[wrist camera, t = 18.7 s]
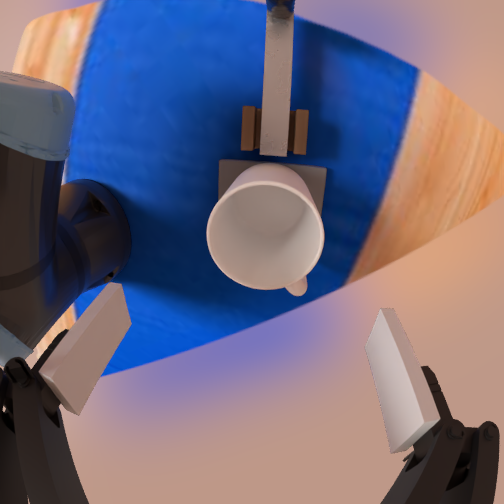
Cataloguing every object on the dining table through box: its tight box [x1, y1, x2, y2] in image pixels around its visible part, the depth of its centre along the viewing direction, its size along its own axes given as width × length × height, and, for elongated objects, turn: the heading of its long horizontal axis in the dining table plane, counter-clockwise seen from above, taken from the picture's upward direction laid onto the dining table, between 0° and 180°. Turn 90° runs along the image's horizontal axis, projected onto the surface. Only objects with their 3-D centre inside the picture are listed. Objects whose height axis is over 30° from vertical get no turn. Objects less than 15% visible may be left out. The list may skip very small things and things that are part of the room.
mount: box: [241, 106, 309, 155], centre depth 24 cm, size 6×4×5 cm, turn 87°
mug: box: [206, 163, 324, 296], centre depth 24 cm, size 12×8×10 cm
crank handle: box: [260, 0, 295, 157], centre depth 18 cm, size 2×16×8 cm, turn 177°
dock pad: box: [218, 159, 327, 217], centre depth 29 cm, size 11×11×1 cm
